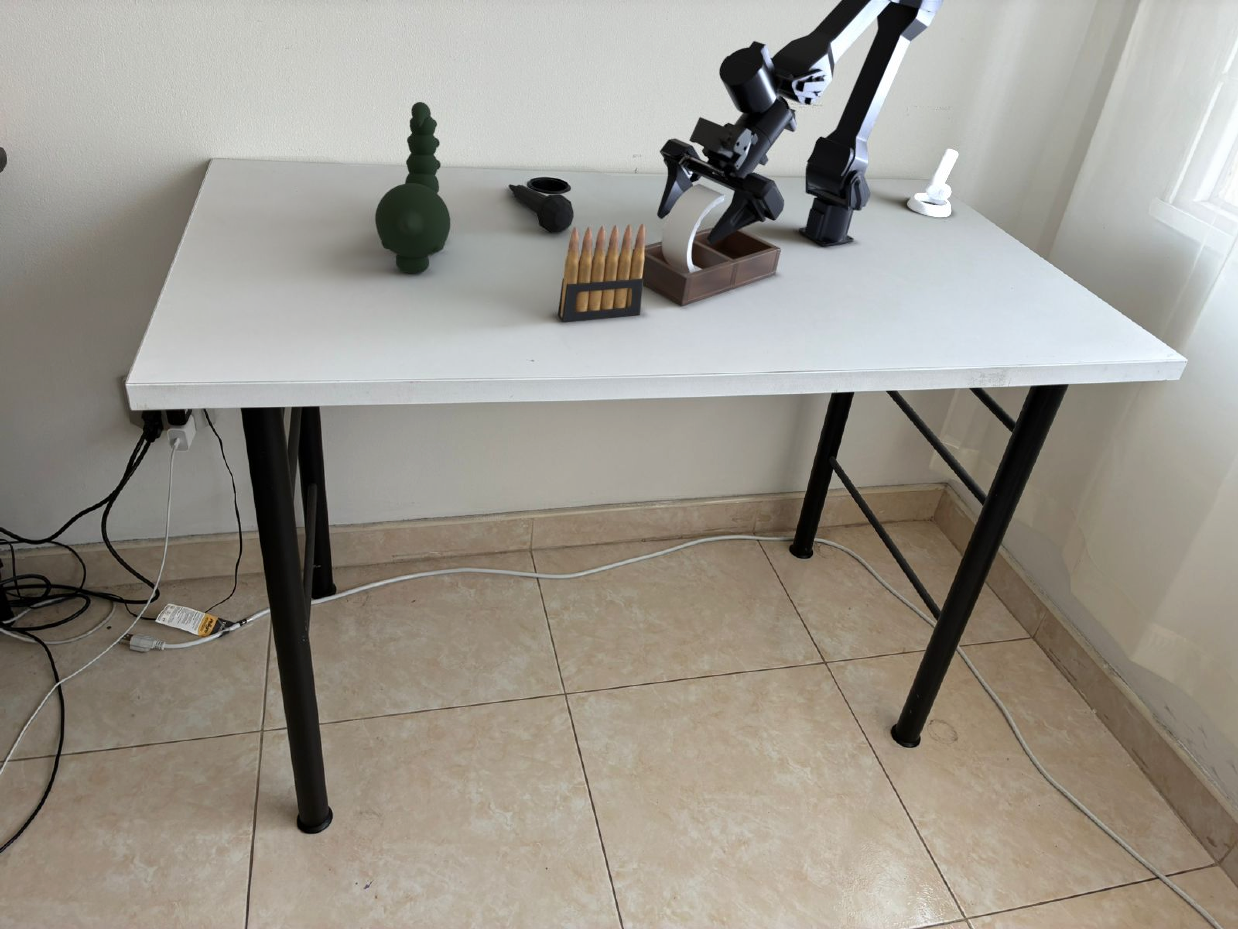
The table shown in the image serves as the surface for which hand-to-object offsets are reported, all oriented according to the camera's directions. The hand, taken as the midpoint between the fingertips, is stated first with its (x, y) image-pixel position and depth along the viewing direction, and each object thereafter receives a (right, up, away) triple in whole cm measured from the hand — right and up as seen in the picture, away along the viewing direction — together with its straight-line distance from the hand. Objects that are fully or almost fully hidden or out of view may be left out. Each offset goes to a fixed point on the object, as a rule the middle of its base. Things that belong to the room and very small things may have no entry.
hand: (683, 229), depth 125 cm
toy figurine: (-36, -2, +4) cm, 37 cm away
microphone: (-21, +7, +20) cm, 30 cm away
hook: (+46, +14, +43) cm, 65 cm away
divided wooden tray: (+3, -4, +8) cm, 10 cm away
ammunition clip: (-11, -12, -5) cm, 17 cm away
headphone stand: (0, -6, +5) cm, 8 cm away
